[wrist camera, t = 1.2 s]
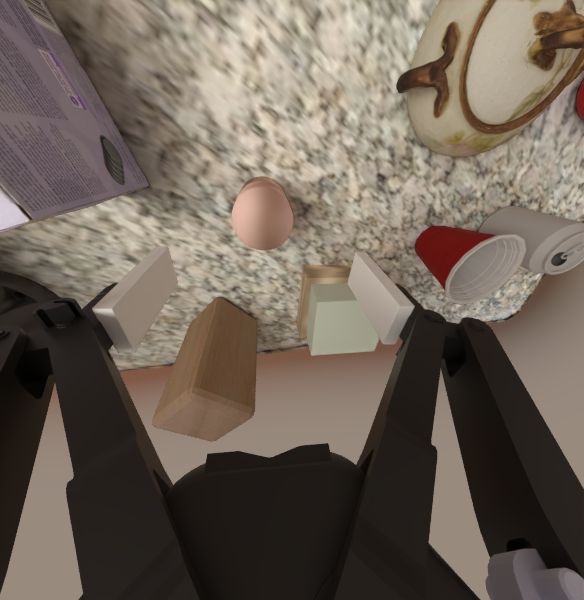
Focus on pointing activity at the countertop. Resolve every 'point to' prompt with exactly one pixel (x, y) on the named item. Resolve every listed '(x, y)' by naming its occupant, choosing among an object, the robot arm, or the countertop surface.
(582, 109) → the pomegranate
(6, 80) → the cake pan box
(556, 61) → the sugar bowl
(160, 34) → the countertop surface
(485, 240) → the plastic cup
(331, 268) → the tower base
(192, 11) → the countertop surface
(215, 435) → the block
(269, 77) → the countertop surface
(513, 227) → the can
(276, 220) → the pink rounded cylinder
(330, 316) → the tower top
